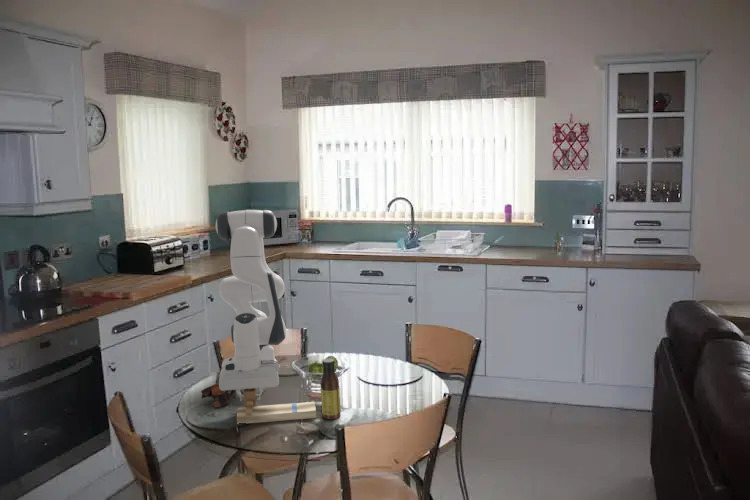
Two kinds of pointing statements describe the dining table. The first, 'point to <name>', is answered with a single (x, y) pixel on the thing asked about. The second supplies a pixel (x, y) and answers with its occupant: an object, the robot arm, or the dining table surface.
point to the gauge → (249, 400)
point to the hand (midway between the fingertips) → (250, 400)
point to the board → (277, 412)
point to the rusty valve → (217, 395)
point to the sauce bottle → (330, 390)
